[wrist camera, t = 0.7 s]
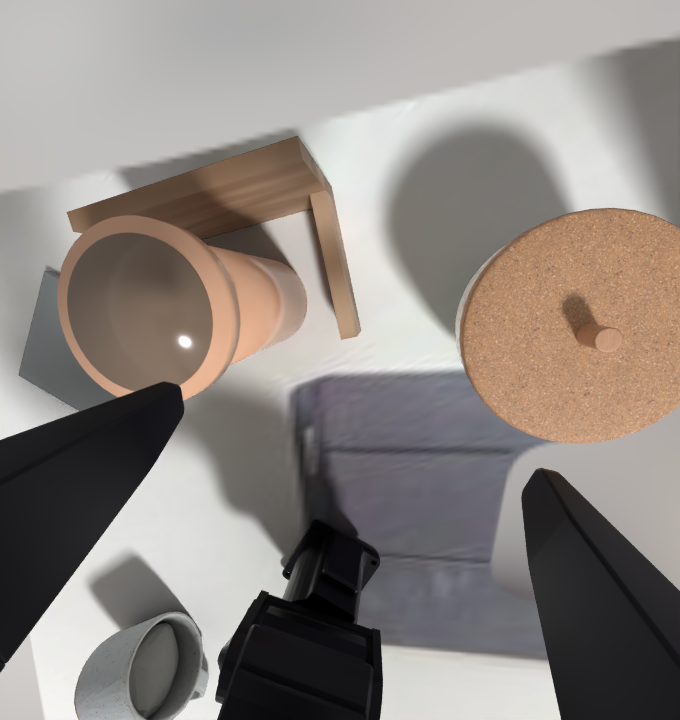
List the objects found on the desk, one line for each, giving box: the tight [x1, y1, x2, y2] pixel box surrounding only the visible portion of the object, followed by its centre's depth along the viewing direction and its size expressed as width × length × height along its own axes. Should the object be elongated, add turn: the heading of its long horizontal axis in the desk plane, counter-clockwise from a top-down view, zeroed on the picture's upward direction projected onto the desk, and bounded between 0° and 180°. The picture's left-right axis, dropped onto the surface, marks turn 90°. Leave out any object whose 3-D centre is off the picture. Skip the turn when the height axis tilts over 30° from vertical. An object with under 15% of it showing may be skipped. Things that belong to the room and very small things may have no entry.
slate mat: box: [19, 271, 118, 411], centre depth 29 cm, size 10×10×1 cm
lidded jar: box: [455, 208, 680, 443], centre depth 18 cm, size 11×11×9 cm
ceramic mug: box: [74, 612, 209, 720], centre depth 31 cm, size 11×8×8 cm
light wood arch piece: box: [67, 136, 361, 340], centre depth 21 cm, size 10×13×8 cm
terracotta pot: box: [57, 215, 307, 401], centre depth 19 cm, size 7×7×13 cm
